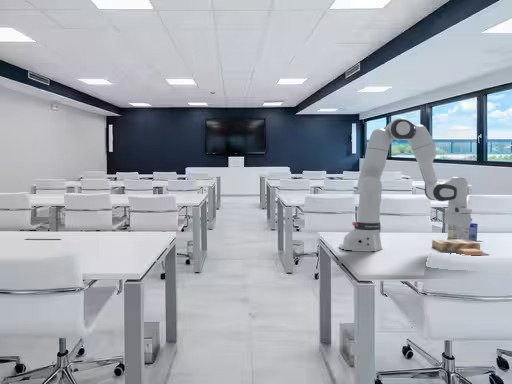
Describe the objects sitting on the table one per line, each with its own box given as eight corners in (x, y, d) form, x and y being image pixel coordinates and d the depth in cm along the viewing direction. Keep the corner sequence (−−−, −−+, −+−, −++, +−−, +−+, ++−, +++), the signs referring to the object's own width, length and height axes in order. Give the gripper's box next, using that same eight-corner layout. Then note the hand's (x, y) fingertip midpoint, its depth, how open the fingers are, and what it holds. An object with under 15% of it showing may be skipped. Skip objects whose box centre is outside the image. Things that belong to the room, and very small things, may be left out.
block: (457, 248, 210) (457, 252, 210) (464, 251, 204) (464, 255, 204) (475, 248, 210) (475, 252, 210) (482, 251, 204) (482, 255, 204)
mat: (453, 255, 205) (453, 255, 205) (443, 251, 215) (443, 250, 215) (489, 255, 206) (489, 254, 206) (477, 250, 216) (478, 250, 216)
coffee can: (450, 236, 258) (451, 213, 257) (468, 238, 251) (469, 215, 250) (444, 238, 250) (445, 215, 250) (463, 240, 243) (463, 216, 242)
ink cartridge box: (477, 245, 229) (478, 219, 228) (468, 246, 228) (469, 219, 227) (465, 242, 239) (465, 217, 238) (456, 242, 238) (457, 217, 237)
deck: (441, 251, 215) (441, 243, 215) (432, 247, 226) (432, 239, 226) (479, 250, 216) (480, 243, 215) (468, 246, 227) (468, 239, 226)
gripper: (441, 205, 228) (440, 230, 229) (461, 210, 208) (459, 237, 209) (453, 206, 228) (451, 231, 229) (473, 210, 208) (472, 237, 209)
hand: (455, 234), depth 219 cm, fingers closed
